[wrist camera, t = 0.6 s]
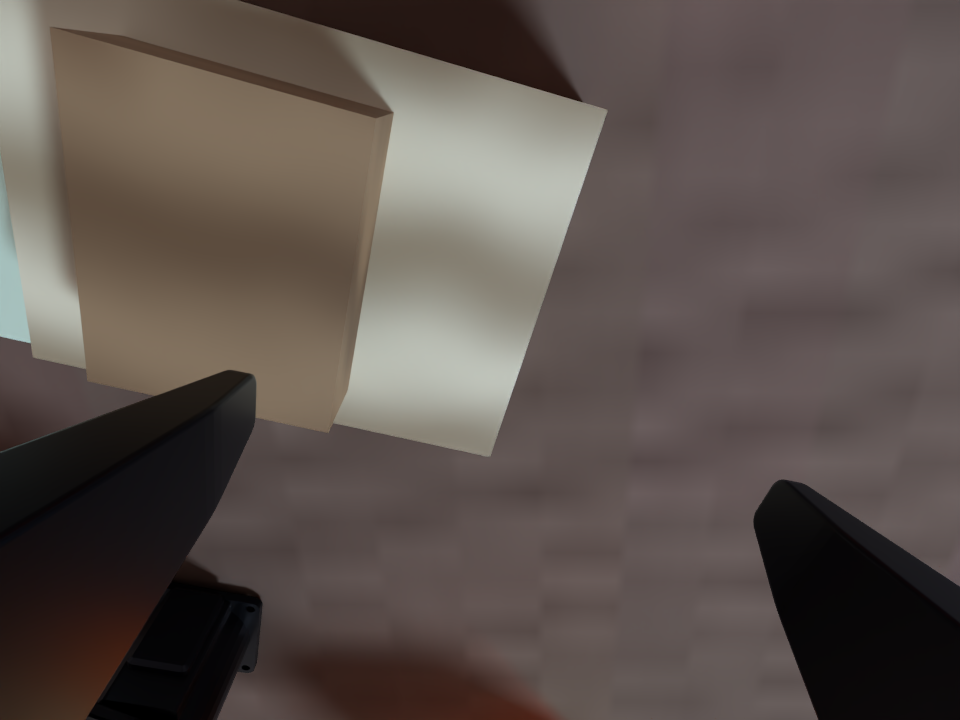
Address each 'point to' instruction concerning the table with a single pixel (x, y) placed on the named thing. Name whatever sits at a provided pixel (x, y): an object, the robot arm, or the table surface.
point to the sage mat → (10, 276)
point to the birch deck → (401, 211)
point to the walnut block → (216, 222)
